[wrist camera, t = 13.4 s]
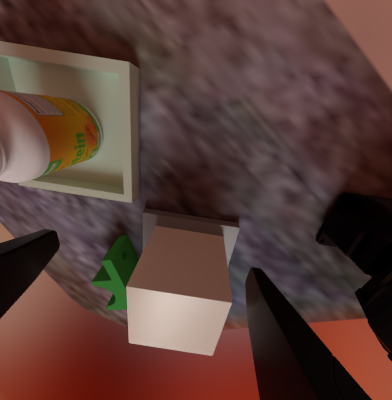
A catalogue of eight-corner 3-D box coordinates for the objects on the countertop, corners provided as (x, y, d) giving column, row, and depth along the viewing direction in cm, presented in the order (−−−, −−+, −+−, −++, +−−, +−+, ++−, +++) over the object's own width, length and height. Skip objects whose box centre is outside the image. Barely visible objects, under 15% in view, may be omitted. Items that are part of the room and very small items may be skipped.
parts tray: (139, 68, 15) (129, 62, 13) (139, 194, 20) (132, 203, 18) (2, 47, 15) (-30, 36, 13) (37, 178, 20) (18, 184, 18)
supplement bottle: (94, 169, 18) (-13, 220, 9) (42, 139, 17) (-131, 163, 8) (113, 122, 16) (-3, 130, 7) (55, 84, 15) (-160, 40, 6)
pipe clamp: (102, 236, 23) (79, 262, 19) (128, 233, 23) (110, 259, 19) (130, 293, 28) (116, 324, 24) (153, 292, 27) (143, 323, 23)
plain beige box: (238, 222, 21) (257, 292, 12) (219, 285, 25) (224, 365, 17) (145, 208, 21) (104, 268, 12) (144, 274, 25) (114, 348, 17)
